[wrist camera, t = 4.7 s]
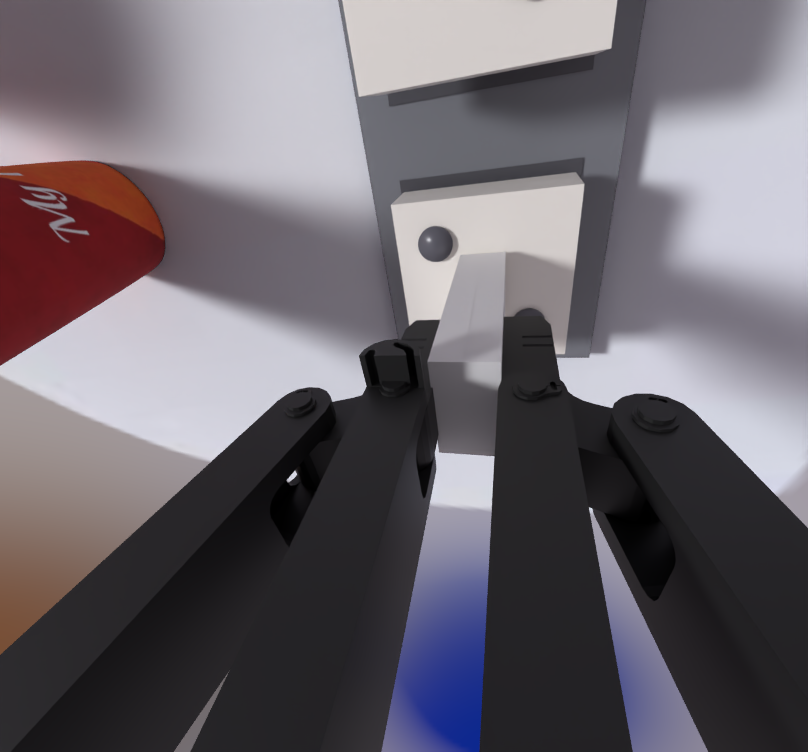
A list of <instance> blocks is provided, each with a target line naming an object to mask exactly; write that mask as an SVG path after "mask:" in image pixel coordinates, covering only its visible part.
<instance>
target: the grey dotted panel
mask: <svg viewBox="0 0 808 752" xmlns="http://www.w3.org/2000/svg"><path fill="white" fill-rule="evenodd" d="M338 1H339V7H340V13H341V18H342V24H343V30H344V35H345V41H346V47H347V52H348V58H349V63H350V69H351V75H352V80H353V86H354V92H355V97H356V103H357V109H358V114H359V120H360V125H361V131H362V137H363V142H364V148H365V154H366V159H367V165H368V171H369V176H370V182H371V187H372V193H373V199H374V204H375V210H376V216H377V221H378V227H379V233H380V238H381V244H382V249H383V255H384V261H385V266H386V272H387V278H388V283H389V289H390V295H391V300H392V306H393V312H394V317H395V323H396V328H397V334H398V339H400V340H401V338H402V336H403V334H404V331H405V329H406V328H407V327H409V320H408V313H407V307H406V300H405V294H404V287H403V281H402V274H401V268H400V261H399V255H398V248H397V242H396V235H395V229H394V223H393V216H392V210H391V204H392V203H393V202H394V201H395V200H396V199H397V198H399V197H400V196H401V195H402V194H403V193H404V192H410V191H419V190H428V189H436V188H445V187H453V186H462V185H470V184H479V183H487V182H496V181H504V180H513V179H521V178H530V177H538V176H547V175H555V174H564V173H572V172H576V173H577V174H578V176H579V177H580V178H581V180H582V181H583V182H584V193H583V202H582V210H581V219H580V228H579V236H578V245H577V254H576V262H575V271H574V279H573V288H572V297H571V305H570V314H569V323H568V331H567V340H566V349H565V354H556V358H589V354H590V348H591V342H592V336H593V329H594V323H595V317H596V310H597V304H598V298H599V292H600V285H601V279H602V273H603V267H604V260H605V254H606V248H607V242H608V235H609V229H610V223H611V217H612V210H613V204H614V198H615V192H616V185H617V179H618V173H619V167H620V160H621V154H622V148H623V142H624V135H625V129H626V123H627V117H628V110H629V104H630V98H631V92H632V85H633V79H634V73H635V67H636V60H637V54H638V48H639V42H640V35H641V29H642V23H643V17H644V10H645V4H646V0H617V7H616V15H615V22H614V30H613V38H612V46H611V49H608V50H606V51H603V52H600V53H598V54H595V55H589V56H584V57H579V58H574V59H568V60H563V61H558V62H553V63H547V64H542V65H537V66H532V67H526V68H521V69H516V70H511V71H505V72H500V73H495V74H490V75H484V76H479V77H474V78H468V79H463V80H458V81H453V82H447V83H442V84H437V85H432V86H426V87H421V88H416V89H411V90H405V91H400V92H395V93H390V94H384V95H378V96H363V97H359V95H358V89H357V83H356V77H355V72H354V66H353V60H352V54H351V49H350V43H349V37H348V31H347V25H346V20H345V14H344V8H343V2H342V0H338Z"/></svg>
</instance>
